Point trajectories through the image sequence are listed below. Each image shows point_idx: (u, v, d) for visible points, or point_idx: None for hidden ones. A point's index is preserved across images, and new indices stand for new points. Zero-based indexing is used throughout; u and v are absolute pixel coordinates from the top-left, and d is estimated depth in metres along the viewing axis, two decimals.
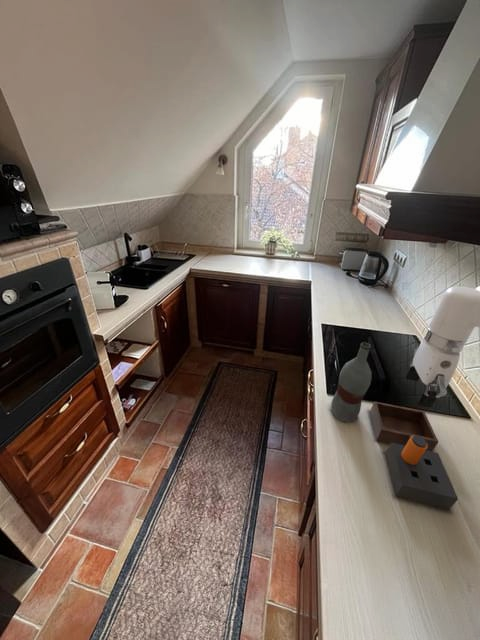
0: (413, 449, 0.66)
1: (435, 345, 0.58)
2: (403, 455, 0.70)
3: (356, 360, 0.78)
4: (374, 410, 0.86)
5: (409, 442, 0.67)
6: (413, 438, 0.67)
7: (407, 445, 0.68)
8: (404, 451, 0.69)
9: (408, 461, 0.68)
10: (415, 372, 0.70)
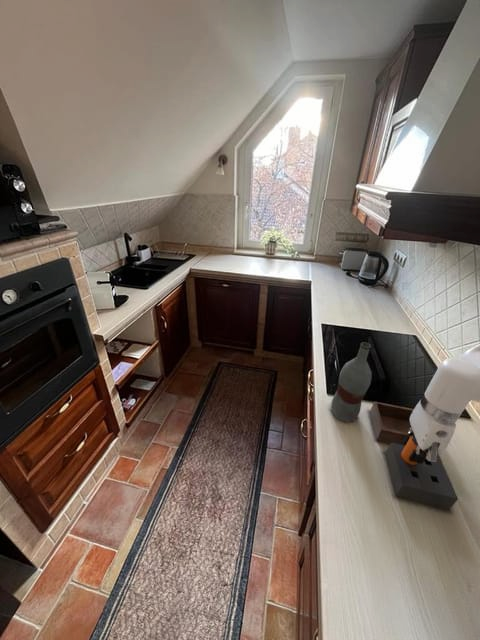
0: (413, 449, 0.66)
1: (431, 414, 0.58)
2: (403, 455, 0.70)
3: (356, 360, 0.78)
4: (374, 410, 0.86)
5: (409, 442, 0.67)
6: (413, 438, 0.67)
7: (407, 445, 0.68)
8: (404, 451, 0.69)
9: (408, 461, 0.68)
10: None
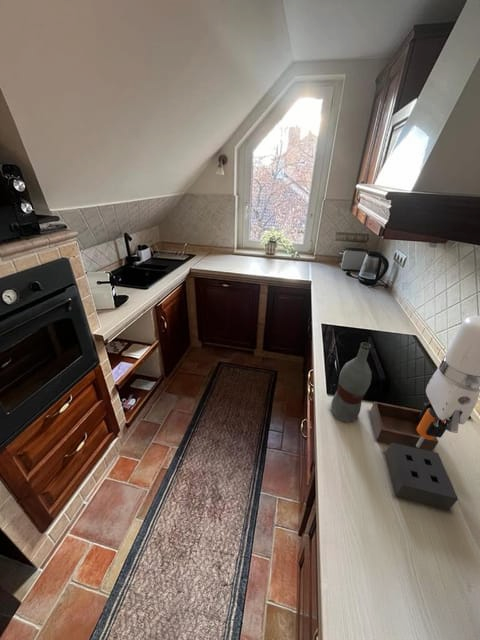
0: (430, 422, 0.61)
1: (452, 379, 0.53)
2: (419, 430, 0.64)
3: (356, 360, 0.78)
4: (374, 410, 0.86)
5: (426, 415, 0.62)
6: (430, 410, 0.61)
7: (423, 418, 0.63)
8: (420, 425, 0.64)
9: (425, 435, 0.63)
10: None
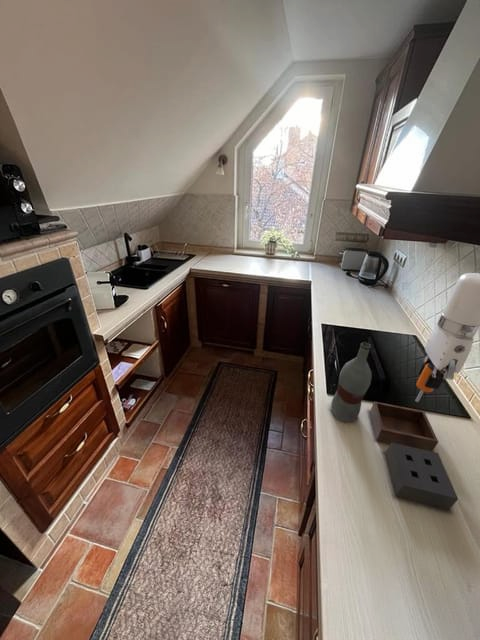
0: None
1: (449, 330, 0.60)
2: (418, 384, 0.71)
3: (356, 360, 0.78)
4: (374, 410, 0.86)
5: (425, 369, 0.69)
6: (429, 364, 0.68)
7: (423, 373, 0.69)
8: (419, 380, 0.70)
9: (424, 388, 0.70)
10: None
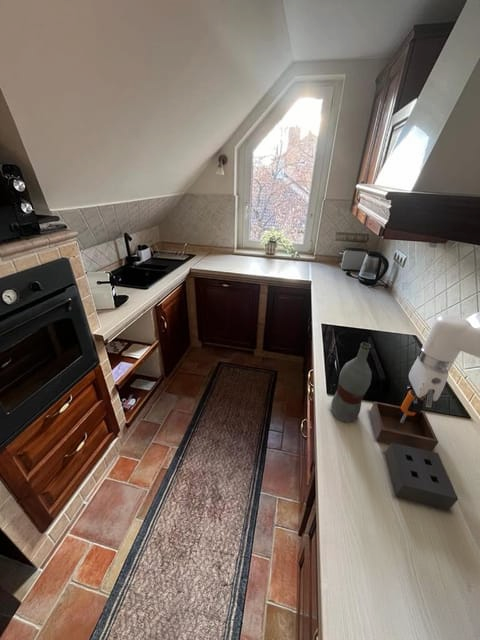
0: None
1: (427, 364, 0.67)
2: (402, 407, 0.79)
3: (356, 360, 0.78)
4: (374, 410, 0.86)
5: (408, 395, 0.76)
6: (411, 391, 0.76)
7: (406, 398, 0.77)
8: (403, 404, 0.78)
9: (407, 412, 0.77)
10: None
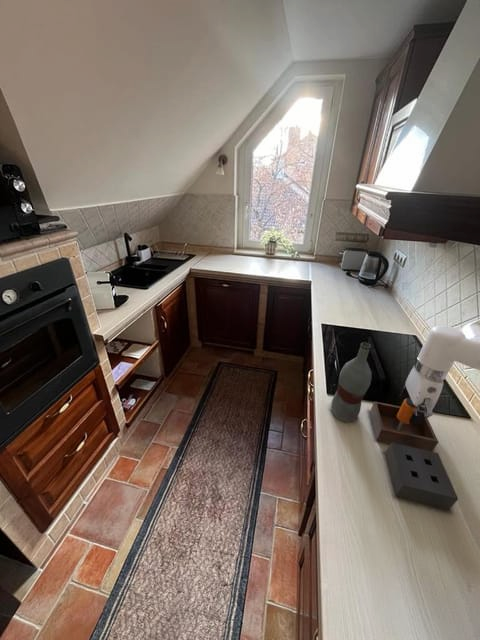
0: (406, 410, 0.77)
1: (423, 374, 0.69)
2: (398, 416, 0.80)
3: (356, 360, 0.78)
4: (374, 410, 0.86)
5: (403, 404, 0.78)
6: (407, 400, 0.78)
7: (402, 407, 0.79)
8: (399, 412, 0.80)
9: (402, 420, 0.79)
10: (408, 393, 0.81)
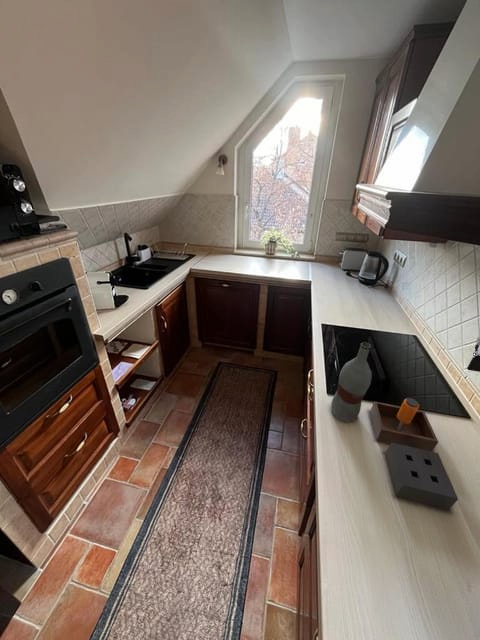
0: (406, 410, 0.77)
1: None
2: (398, 416, 0.80)
3: (356, 360, 0.78)
4: (374, 410, 0.86)
5: (403, 404, 0.78)
6: (407, 400, 0.78)
7: (402, 407, 0.79)
8: (399, 412, 0.80)
9: (402, 420, 0.79)
10: (479, 362, 0.66)
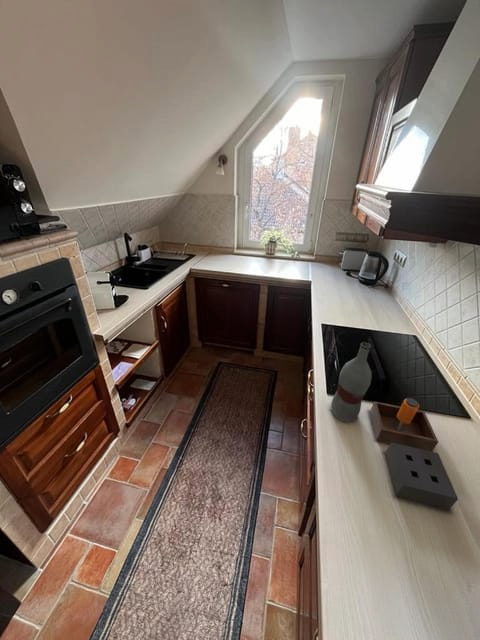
0: (406, 410, 0.77)
1: None
2: (398, 416, 0.80)
3: (356, 360, 0.78)
4: (374, 410, 0.86)
5: (403, 404, 0.78)
6: (407, 400, 0.78)
7: (402, 407, 0.79)
8: (399, 412, 0.80)
9: (402, 420, 0.79)
10: None
